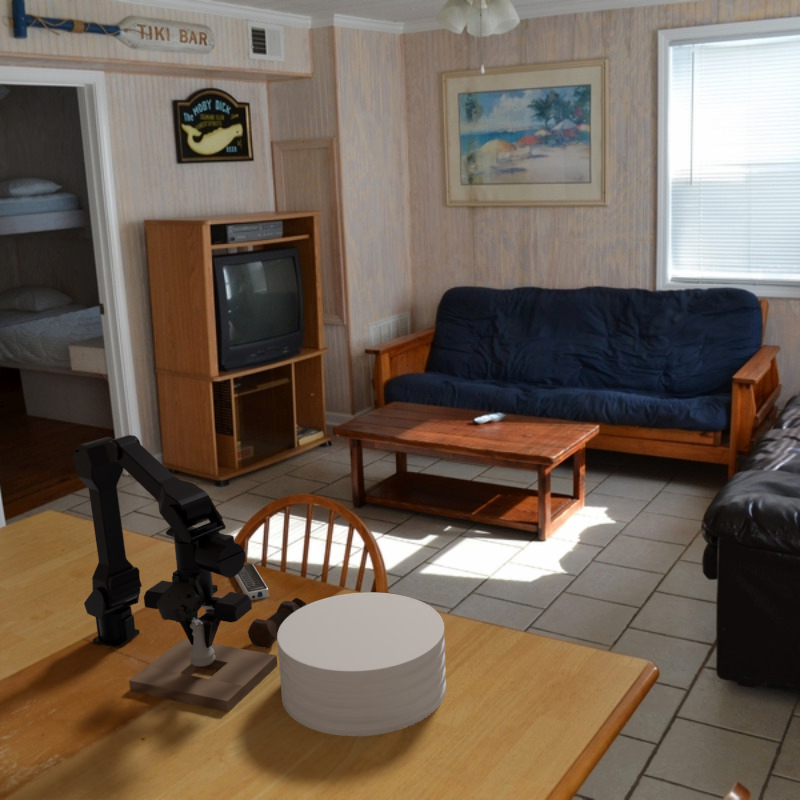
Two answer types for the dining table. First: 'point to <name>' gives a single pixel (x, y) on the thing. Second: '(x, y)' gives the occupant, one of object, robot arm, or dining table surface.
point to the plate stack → (362, 663)
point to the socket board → (218, 692)
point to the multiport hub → (252, 582)
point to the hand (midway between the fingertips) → (201, 645)
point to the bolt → (272, 624)
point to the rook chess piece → (200, 646)
